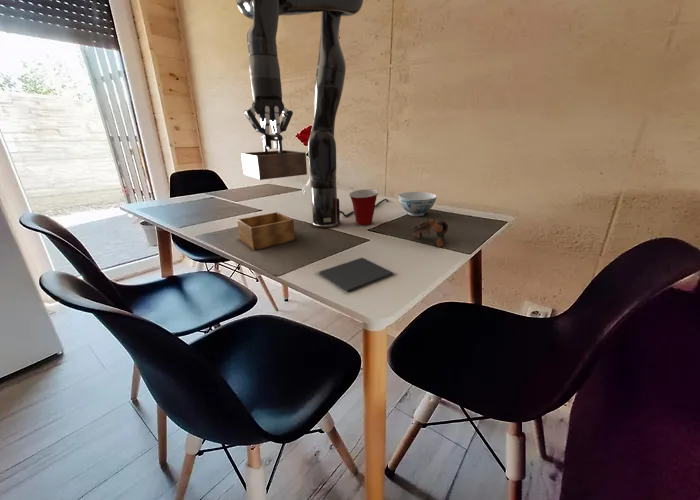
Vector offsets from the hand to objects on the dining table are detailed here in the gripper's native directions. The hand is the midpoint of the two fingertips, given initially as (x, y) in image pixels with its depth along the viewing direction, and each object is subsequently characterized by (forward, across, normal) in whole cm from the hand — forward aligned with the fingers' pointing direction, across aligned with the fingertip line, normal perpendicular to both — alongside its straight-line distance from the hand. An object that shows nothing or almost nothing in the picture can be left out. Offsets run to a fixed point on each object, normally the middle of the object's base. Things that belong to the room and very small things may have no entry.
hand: (272, 148), depth 86 cm
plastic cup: (+29, +34, +2) cm, 45 cm away
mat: (+29, +6, -30) cm, 42 cm away
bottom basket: (+29, -2, +8) cm, 30 cm away
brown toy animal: (+29, +39, -27) cm, 55 cm away
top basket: (+7, 0, 0) cm, 7 cm away
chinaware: (+29, +60, -2) cm, 66 cm away
